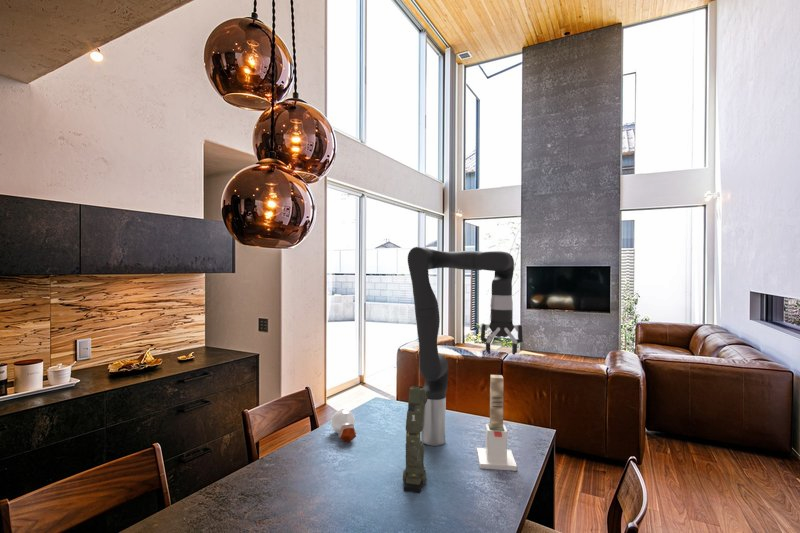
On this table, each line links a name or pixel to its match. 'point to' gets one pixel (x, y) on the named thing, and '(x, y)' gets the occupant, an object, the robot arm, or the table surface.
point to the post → (496, 402)
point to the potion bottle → (344, 425)
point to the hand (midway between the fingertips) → (501, 353)
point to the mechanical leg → (415, 441)
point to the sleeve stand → (496, 451)
